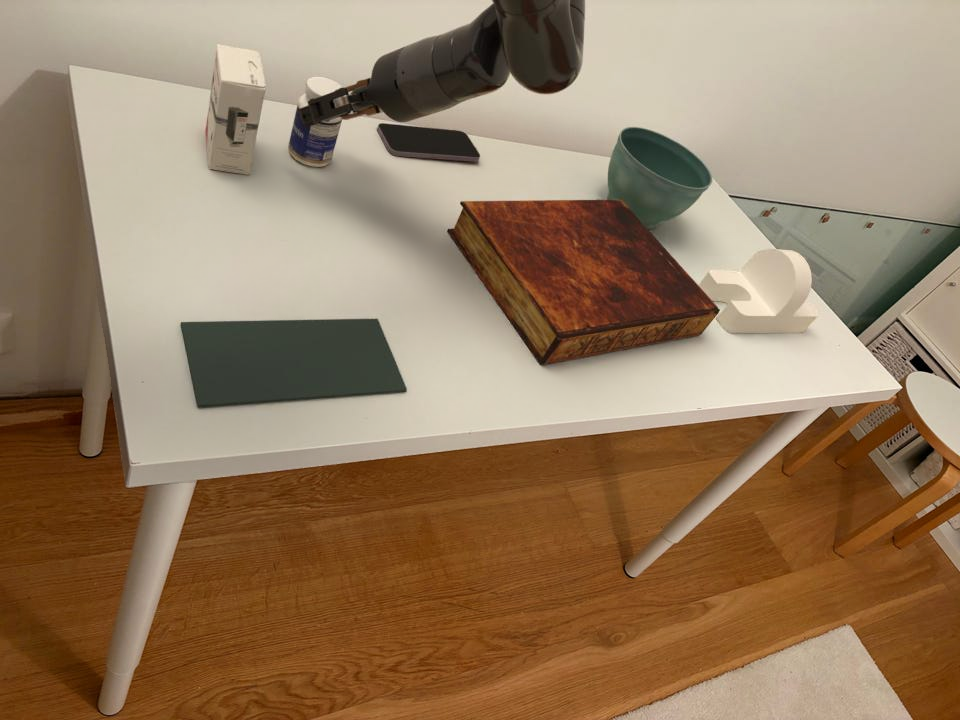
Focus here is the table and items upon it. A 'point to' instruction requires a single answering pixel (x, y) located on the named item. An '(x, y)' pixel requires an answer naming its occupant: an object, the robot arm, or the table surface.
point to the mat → (288, 360)
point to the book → (579, 276)
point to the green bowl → (655, 175)
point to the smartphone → (427, 142)
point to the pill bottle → (314, 128)
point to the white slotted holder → (764, 294)
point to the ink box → (234, 109)
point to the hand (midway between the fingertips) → (329, 112)
